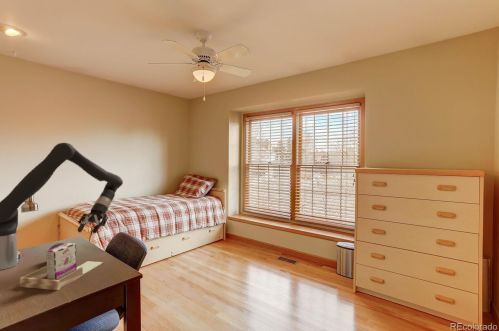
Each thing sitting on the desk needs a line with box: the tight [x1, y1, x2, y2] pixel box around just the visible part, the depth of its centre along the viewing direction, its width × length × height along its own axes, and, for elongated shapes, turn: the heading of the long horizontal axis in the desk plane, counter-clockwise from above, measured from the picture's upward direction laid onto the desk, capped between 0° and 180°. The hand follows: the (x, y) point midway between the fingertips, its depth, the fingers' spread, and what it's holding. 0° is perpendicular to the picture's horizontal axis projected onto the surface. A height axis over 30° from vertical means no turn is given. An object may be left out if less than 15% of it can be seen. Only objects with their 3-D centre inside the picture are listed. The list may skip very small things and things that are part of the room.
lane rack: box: [19, 265, 84, 291], centre depth 121 cm, size 19×14×4 cm
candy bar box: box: [46, 242, 77, 280], centre depth 121 cm, size 11×5×16 cm, turn 168°
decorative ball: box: [48, 242, 65, 250], centre depth 143 cm, size 10×10×10 cm
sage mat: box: [76, 260, 104, 275], centre depth 135 cm, size 9×14×1 cm, turn 172°
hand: (86, 232), depth 135 cm, fingers open, 8 cm apart
